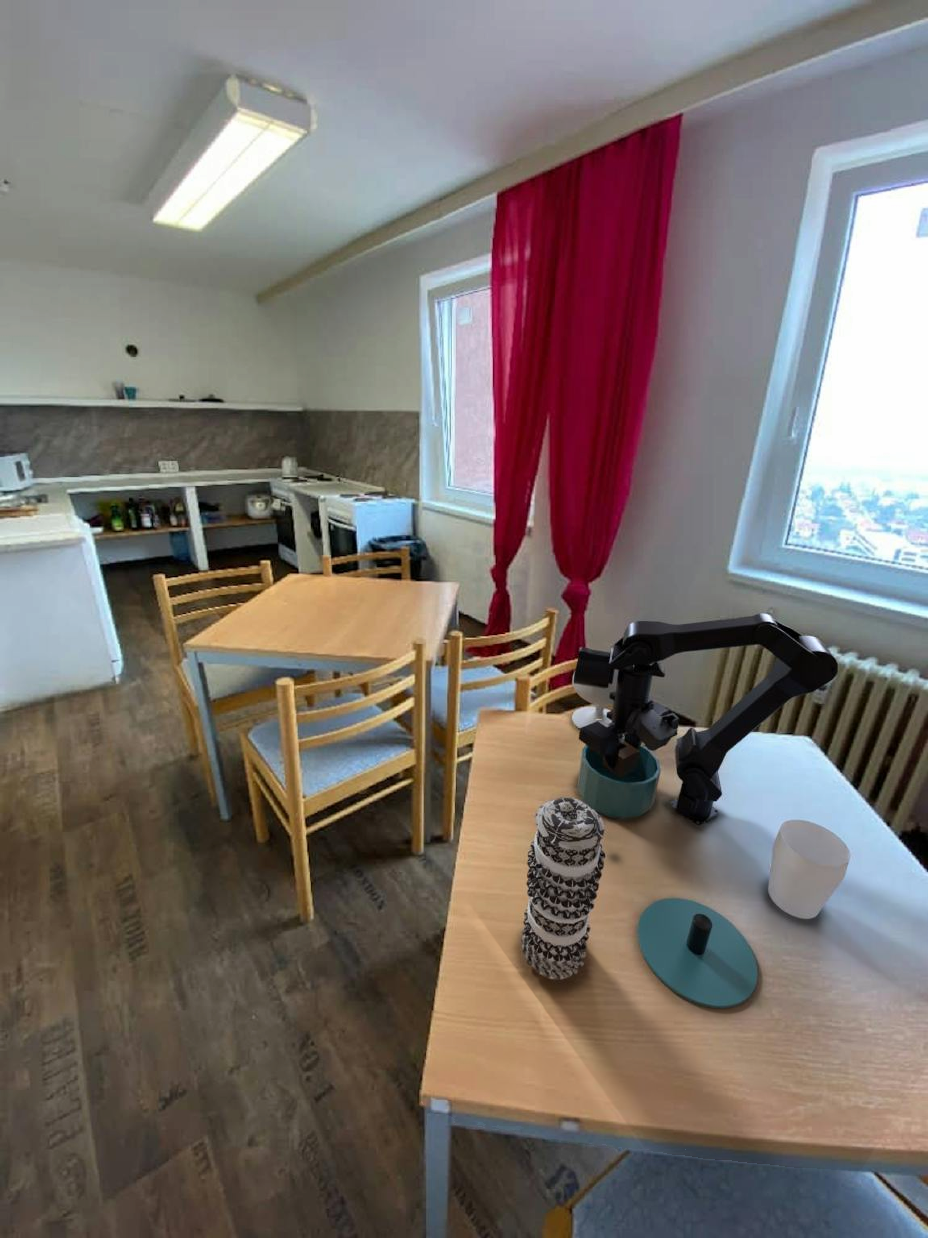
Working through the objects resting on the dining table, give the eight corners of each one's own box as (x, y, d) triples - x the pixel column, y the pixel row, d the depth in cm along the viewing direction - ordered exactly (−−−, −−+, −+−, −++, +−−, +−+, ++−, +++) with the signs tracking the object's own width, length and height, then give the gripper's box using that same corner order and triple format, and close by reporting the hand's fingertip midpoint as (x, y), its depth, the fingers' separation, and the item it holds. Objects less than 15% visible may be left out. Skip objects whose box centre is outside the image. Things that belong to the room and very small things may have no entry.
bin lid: (681, 887, 81) (688, 858, 79) (778, 970, 70) (790, 939, 67) (613, 935, 74) (619, 904, 71) (710, 1037, 62) (721, 1005, 60)
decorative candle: (598, 983, 67) (625, 837, 58) (529, 995, 66) (546, 847, 56) (572, 919, 76) (593, 782, 66) (511, 929, 74) (522, 790, 64)
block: (618, 757, 101) (621, 738, 100) (636, 770, 98) (639, 751, 96) (602, 765, 99) (605, 746, 97) (620, 778, 96) (623, 758, 94)
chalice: (613, 747, 114) (622, 688, 108) (557, 724, 122) (563, 667, 116) (637, 720, 124) (647, 664, 118) (584, 700, 132) (591, 647, 126)
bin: (612, 760, 110) (617, 728, 107) (669, 801, 99) (676, 767, 96) (562, 784, 103) (566, 750, 100) (617, 830, 92) (624, 795, 89)
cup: (817, 886, 82) (840, 828, 77) (834, 937, 74) (861, 875, 69) (754, 869, 85) (773, 812, 80) (764, 917, 77) (785, 857, 72)
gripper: (632, 730, 81) (618, 808, 87) (704, 698, 91) (687, 770, 97) (581, 698, 90) (572, 771, 96) (652, 671, 99) (640, 739, 105)
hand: (620, 763), depth 98 cm, fingers closed on block, 4 cm apart
